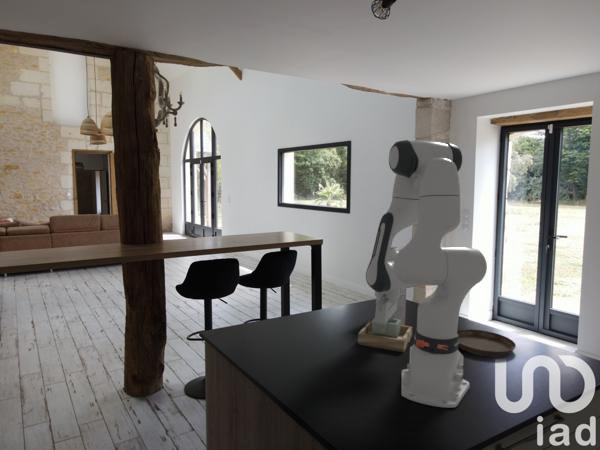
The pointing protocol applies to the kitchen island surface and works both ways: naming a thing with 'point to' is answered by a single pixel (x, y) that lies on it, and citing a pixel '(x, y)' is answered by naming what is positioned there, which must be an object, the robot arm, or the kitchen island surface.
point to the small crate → (391, 325)
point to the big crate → (385, 338)
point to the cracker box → (400, 307)
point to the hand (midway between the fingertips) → (386, 329)
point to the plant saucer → (485, 343)
